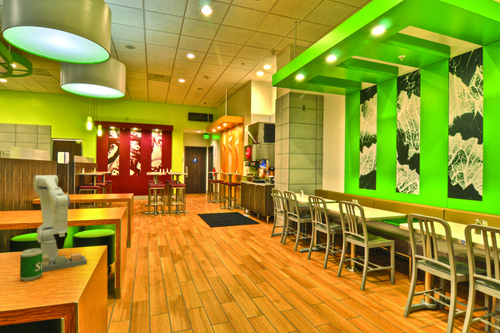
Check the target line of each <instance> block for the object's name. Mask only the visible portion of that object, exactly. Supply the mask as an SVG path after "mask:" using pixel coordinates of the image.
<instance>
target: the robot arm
mask: <svg viewBox="0 0 500 333" xmlns="http://www.w3.org/2000/svg"><path fill="white" fill-rule="evenodd" d="M32 182H33V190H34V193H36V194H38V196H39V201H40V202H39V203H40V209H41V217H42V224H41V225H39V226H38V227H37V228H36V241H37V242H38V243H39V244H40V250H42V251H43V255H49V261H55V257H57V256H59V250H63V249H64V247H65V242H66V239H67V237H68V234H69V233H68V232H69V229H68V220H69V218H68V217H69V216H68V215H69V210H68V209H69V208H68V207H70V205H71V204H70V203H71V198H70V195H69V194H66V193H64V191H63V189H62V188H61V187H59V186H58V185H59V177H58V175H56V174H53V175H51V174H48V175H45V174H44V175H43V174H42V175H39V174H36V175H34V177H33V181H32Z"/></svg>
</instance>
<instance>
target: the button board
mask: <svg viewBox="0 0 500 333" xmlns="http://www.w3.org/2000/svg"><path fill="white" fill-rule="evenodd" d="M87 261H88V259H87V258H86V257H85V255H81V260H77V261H72V262H71V257H68V258H66V263H60V264H55V260H52V261H49V265H47V266H42V273H48V272H52V271H56V270H58V271H59V270H62V269H68V268H74V267H78V266H84V265H87V264H88V263H87Z"/></svg>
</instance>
